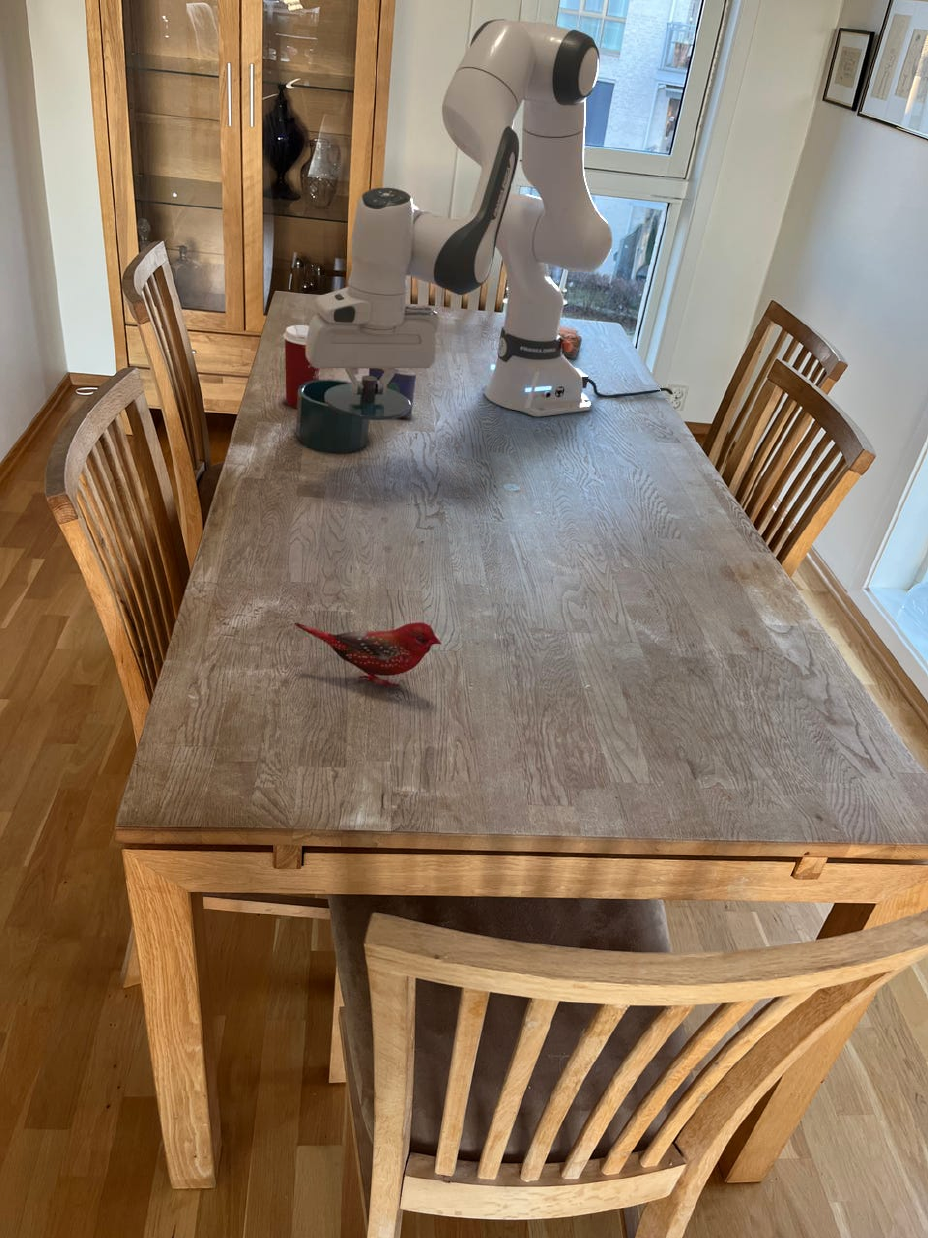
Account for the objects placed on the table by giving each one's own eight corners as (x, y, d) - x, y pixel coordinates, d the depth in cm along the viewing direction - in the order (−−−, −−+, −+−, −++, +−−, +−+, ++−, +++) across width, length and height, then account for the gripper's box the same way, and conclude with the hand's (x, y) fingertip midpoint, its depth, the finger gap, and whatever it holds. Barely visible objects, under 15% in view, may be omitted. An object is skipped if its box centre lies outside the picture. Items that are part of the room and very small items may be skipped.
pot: (355, 422, 183) (358, 378, 178) (376, 451, 174) (380, 406, 169) (288, 424, 178) (290, 379, 173) (306, 454, 169) (309, 407, 164)
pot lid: (393, 389, 164) (396, 362, 161) (421, 422, 154) (425, 394, 151) (314, 390, 158) (315, 362, 156) (337, 424, 148) (340, 395, 146)
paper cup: (318, 413, 184) (322, 340, 176) (277, 407, 184) (280, 333, 176) (324, 398, 191) (328, 327, 183) (284, 392, 190) (287, 321, 182)
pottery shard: (582, 362, 232) (586, 346, 230) (518, 352, 231) (521, 336, 228) (576, 340, 246) (579, 325, 243) (515, 331, 244) (518, 315, 242)
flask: (412, 416, 189) (418, 362, 183) (407, 421, 187) (413, 367, 181) (367, 405, 191) (372, 352, 185) (362, 410, 188) (367, 356, 182)
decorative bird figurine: (431, 703, 117) (441, 635, 111) (287, 671, 118) (291, 602, 112) (435, 689, 119) (446, 621, 114) (295, 658, 120) (299, 589, 115)
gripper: (432, 300, 154) (422, 385, 161) (305, 297, 146) (300, 386, 153) (447, 313, 149) (435, 400, 157) (316, 311, 141) (311, 402, 149)
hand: (368, 393), depth 155 cm, fingers closed on pot lid, 2 cm apart
